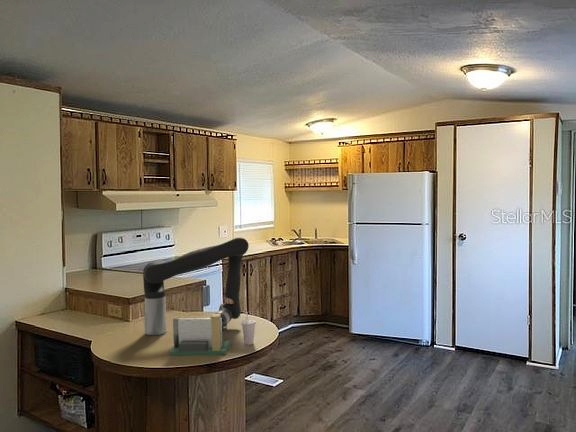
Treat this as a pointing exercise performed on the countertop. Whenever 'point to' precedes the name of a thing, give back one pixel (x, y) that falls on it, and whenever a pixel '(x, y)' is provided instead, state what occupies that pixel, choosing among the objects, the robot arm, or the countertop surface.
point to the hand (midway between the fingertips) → (206, 332)
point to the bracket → (205, 343)
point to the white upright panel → (193, 330)
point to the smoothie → (248, 330)
